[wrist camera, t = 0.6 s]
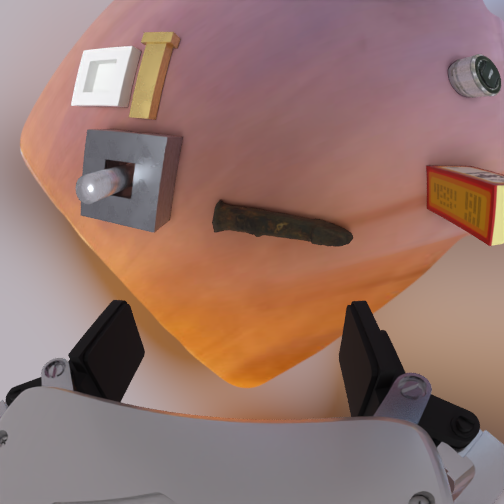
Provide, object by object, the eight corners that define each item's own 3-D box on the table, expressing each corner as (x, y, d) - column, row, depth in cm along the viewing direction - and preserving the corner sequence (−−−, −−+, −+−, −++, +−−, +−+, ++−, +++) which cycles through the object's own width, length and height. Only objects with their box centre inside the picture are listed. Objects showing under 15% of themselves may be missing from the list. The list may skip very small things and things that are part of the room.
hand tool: (215, 225, 40) (208, 235, 36) (219, 197, 38) (212, 205, 34) (343, 249, 40) (351, 262, 36) (351, 224, 38) (360, 234, 34)
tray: (94, 54, 30) (83, 50, 27) (141, 51, 30) (132, 46, 27) (82, 106, 34) (70, 105, 31) (127, 107, 34) (117, 105, 31)
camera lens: (441, 79, 28) (470, 72, 21) (452, 54, 26) (480, 44, 19) (468, 106, 29) (498, 104, 22) (478, 80, 27) (507, 76, 19)
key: (152, 38, 29) (144, 32, 27) (180, 38, 29) (173, 32, 27) (133, 117, 34) (123, 116, 31) (160, 120, 34) (151, 118, 31)
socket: (110, 129, 35) (87, 129, 29) (182, 137, 35) (167, 137, 30) (102, 204, 40) (80, 215, 34) (169, 219, 40) (154, 232, 34)
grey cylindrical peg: (130, 160, 37) (76, 173, 25) (149, 163, 37) (99, 176, 25) (127, 181, 38) (75, 201, 26) (146, 185, 38) (97, 206, 26)
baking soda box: (471, 166, 33) (540, 187, 18) (470, 205, 35) (534, 239, 20) (426, 165, 34) (496, 186, 19) (426, 208, 36) (491, 247, 21)
